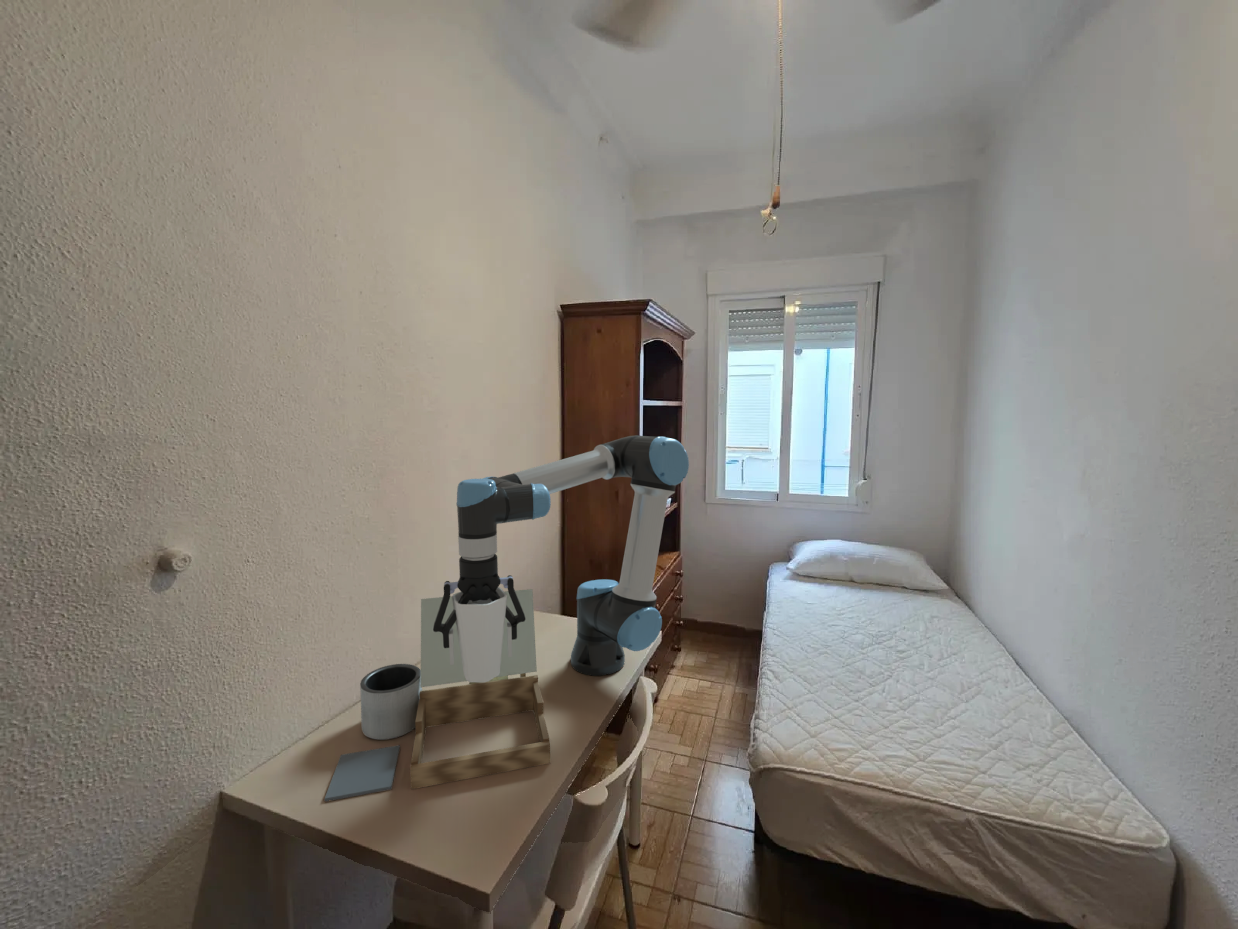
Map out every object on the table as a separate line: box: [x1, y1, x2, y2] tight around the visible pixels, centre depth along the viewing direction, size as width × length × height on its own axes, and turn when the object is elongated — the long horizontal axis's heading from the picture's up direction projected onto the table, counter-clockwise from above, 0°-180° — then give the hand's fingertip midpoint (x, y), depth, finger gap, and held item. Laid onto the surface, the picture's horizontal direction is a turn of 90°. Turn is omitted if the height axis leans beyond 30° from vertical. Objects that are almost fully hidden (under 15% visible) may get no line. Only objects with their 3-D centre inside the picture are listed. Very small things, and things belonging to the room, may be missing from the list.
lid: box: [420, 588, 538, 688], centre depth 118 cm, size 26×19×1 cm
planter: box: [359, 663, 423, 741], centre depth 112 cm, size 13×13×11 cm
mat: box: [324, 744, 401, 802], centre depth 97 cm, size 11×12×1 cm
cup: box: [451, 586, 507, 683], centre depth 104 cm, size 11×10×17 cm
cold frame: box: [409, 673, 551, 790], centre depth 108 cm, size 26×25×16 cm
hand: (481, 657), depth 105 cm, fingers closed on cup, 11 cm apart
